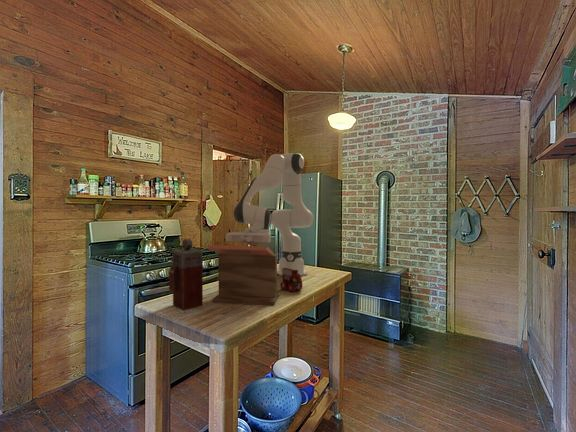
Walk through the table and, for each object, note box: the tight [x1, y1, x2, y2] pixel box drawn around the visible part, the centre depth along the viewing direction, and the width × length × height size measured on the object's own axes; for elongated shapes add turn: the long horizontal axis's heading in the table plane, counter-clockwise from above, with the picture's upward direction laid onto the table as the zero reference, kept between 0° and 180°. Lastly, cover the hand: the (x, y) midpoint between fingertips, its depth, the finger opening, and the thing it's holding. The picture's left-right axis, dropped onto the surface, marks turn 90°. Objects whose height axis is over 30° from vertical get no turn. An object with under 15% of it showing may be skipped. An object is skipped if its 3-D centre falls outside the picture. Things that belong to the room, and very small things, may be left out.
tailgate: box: [207, 244, 274, 256], centre depth 129 cm, size 2×24×15 cm
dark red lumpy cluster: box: [279, 268, 303, 293], centre depth 152 cm, size 7×12×10 cm, turn 47°
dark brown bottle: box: [168, 238, 204, 311], centre depth 127 cm, size 9×11×28 cm
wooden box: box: [212, 253, 280, 306], centre depth 137 cm, size 14×27×20 cm, turn 82°
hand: (244, 239), depth 131 cm, fingers closed
